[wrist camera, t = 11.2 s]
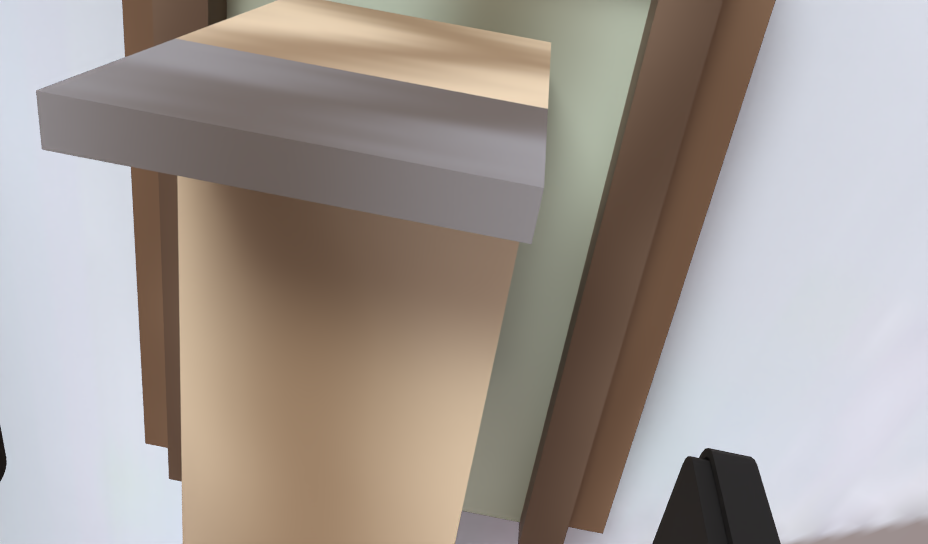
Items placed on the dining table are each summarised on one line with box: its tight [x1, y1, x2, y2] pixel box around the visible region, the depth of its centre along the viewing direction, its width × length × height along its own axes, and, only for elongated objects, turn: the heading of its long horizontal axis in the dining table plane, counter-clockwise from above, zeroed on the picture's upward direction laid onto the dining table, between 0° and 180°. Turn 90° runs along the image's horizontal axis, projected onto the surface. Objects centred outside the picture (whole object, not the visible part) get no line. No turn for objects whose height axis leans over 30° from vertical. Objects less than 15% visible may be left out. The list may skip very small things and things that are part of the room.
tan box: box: [36, 0, 551, 544], centre depth 14 cm, size 5×10×10 cm, turn 171°
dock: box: [122, 0, 776, 544], centre depth 20 cm, size 14×18×5 cm
